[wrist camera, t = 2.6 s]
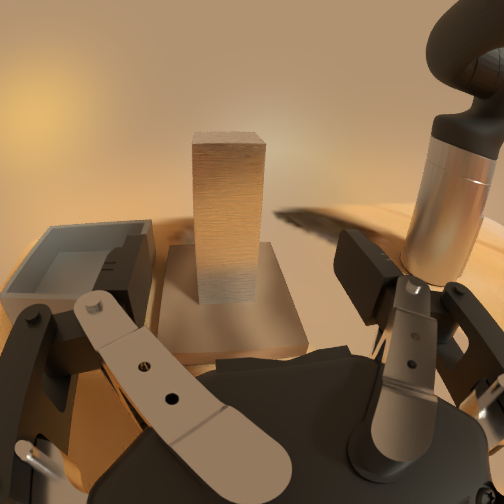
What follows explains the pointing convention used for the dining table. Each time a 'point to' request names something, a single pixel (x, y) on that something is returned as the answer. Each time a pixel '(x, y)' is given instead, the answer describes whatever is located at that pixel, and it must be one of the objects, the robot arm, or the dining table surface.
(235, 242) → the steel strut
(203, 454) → the robot arm
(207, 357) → the stud block
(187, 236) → the dining table surface
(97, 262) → the grey tray
